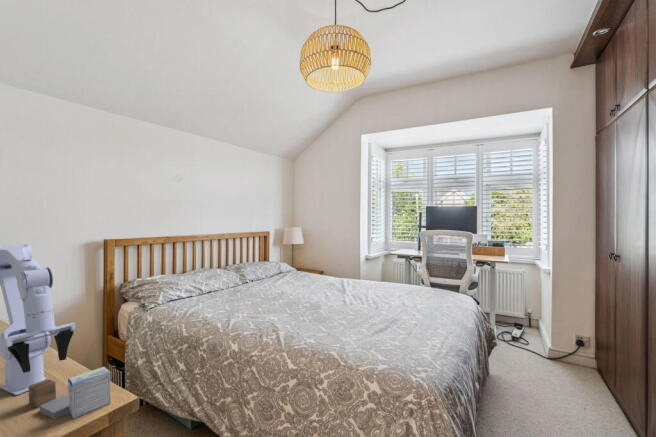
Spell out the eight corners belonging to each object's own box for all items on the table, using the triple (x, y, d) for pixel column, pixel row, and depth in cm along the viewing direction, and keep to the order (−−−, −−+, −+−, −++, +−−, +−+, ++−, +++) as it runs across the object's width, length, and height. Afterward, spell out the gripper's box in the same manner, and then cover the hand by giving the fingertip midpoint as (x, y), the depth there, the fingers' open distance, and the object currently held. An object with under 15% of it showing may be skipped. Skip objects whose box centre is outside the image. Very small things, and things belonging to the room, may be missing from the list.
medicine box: (105, 397, 85) (104, 365, 85) (111, 403, 82) (110, 370, 82) (68, 412, 79) (67, 378, 79) (73, 419, 76) (72, 383, 76)
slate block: (39, 413, 79) (39, 405, 79) (63, 402, 84) (63, 395, 84) (54, 421, 76) (54, 412, 76) (78, 409, 81) (77, 401, 81)
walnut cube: (29, 405, 82) (28, 386, 82) (48, 396, 86) (47, 378, 86) (37, 408, 81) (36, 389, 81) (55, 400, 84) (55, 381, 84)
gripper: (9, 319, 76) (16, 377, 75) (78, 305, 89) (85, 353, 88) (-4, 323, 79) (2, 378, 77) (65, 308, 92) (71, 356, 91)
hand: (45, 365), depth 83 cm, fingers open, 7 cm apart
